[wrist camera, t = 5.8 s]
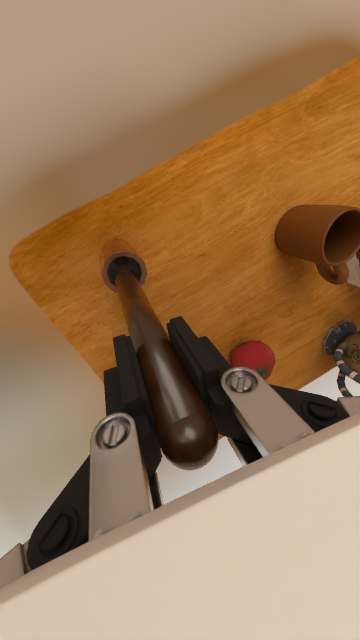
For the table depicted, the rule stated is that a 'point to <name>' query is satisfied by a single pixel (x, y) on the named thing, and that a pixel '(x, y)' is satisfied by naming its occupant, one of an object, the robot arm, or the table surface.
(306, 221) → the mug
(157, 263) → the table surface
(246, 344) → the tomato
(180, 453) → the stick
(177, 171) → the table surface
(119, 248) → the crock
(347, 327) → the teapot
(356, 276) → the tea box
